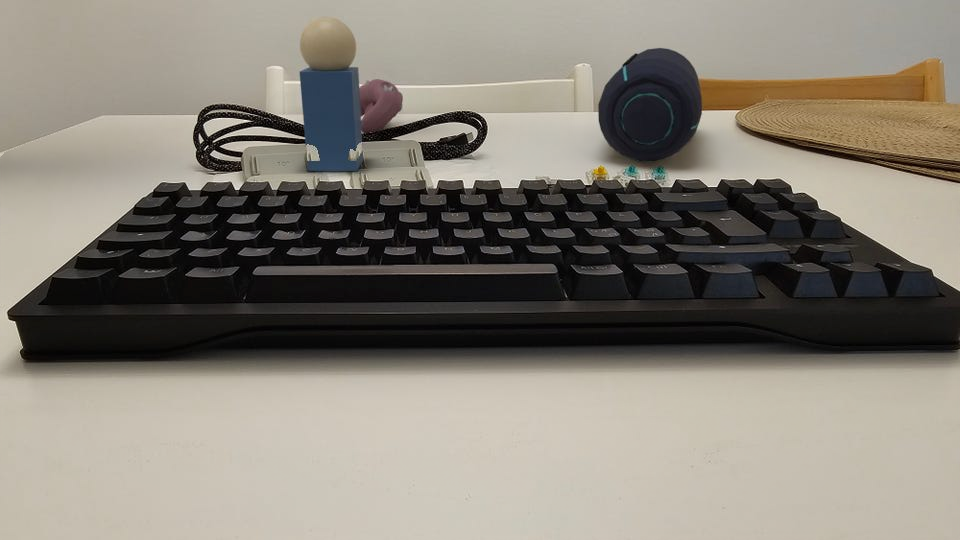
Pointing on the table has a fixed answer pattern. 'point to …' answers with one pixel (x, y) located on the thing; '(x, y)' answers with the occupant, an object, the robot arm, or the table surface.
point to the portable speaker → (651, 105)
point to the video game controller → (378, 104)
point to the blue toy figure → (330, 94)
